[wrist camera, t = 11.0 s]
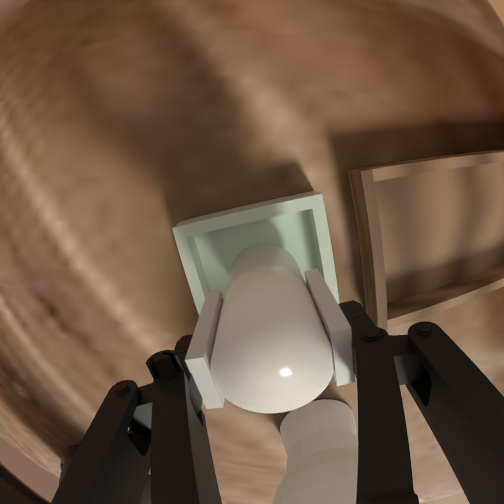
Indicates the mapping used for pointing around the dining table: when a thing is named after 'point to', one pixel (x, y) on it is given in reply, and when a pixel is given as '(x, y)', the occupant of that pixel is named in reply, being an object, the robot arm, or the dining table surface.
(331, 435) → the cup
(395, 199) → the tray
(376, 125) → the dining table surface
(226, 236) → the dish
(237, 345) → the white rounded cylinder
